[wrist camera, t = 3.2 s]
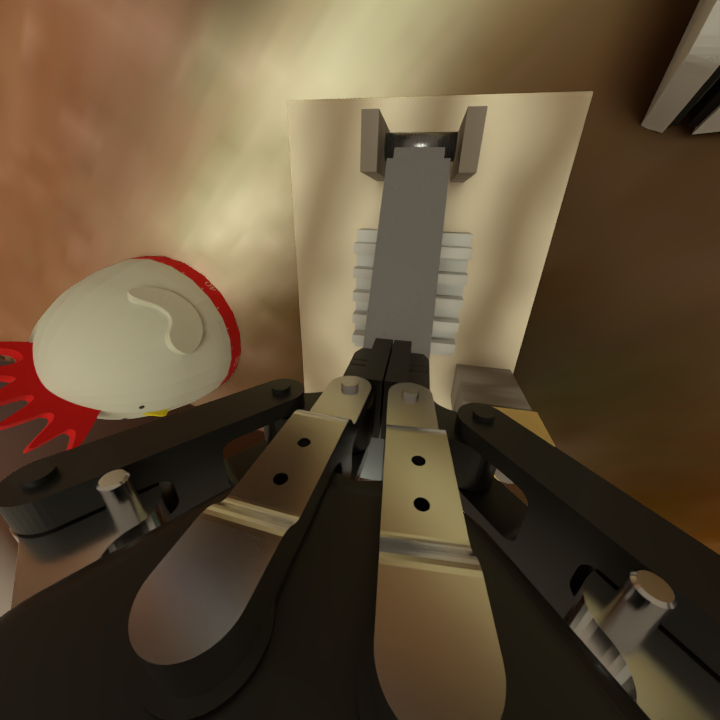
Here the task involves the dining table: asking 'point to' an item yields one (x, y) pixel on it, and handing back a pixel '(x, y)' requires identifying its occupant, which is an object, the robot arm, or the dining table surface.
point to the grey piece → (692, 76)
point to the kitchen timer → (121, 349)
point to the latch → (529, 422)
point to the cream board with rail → (460, 231)
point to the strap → (408, 249)
